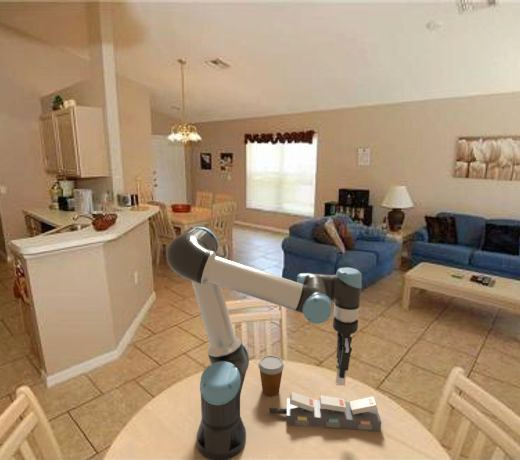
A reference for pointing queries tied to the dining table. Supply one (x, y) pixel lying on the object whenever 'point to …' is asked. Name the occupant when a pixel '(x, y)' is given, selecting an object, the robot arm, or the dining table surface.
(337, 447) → the dining table surface
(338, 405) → the cream switch plate
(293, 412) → the power strip
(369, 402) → the cream rocker switch
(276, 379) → the disposable coffee cup
